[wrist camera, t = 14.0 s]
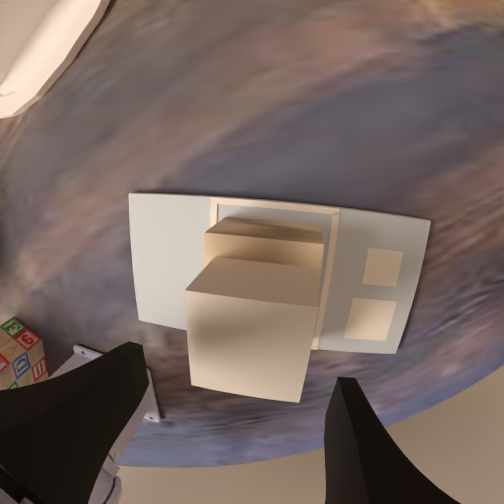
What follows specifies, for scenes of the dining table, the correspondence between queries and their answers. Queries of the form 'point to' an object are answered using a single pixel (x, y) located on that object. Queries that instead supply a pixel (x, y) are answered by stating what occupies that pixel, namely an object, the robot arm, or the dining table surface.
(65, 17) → the white wedge on plate
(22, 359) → the stack of blocks
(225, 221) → the birch block
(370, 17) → the dining table surface
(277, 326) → the beige maple block
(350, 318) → the board
